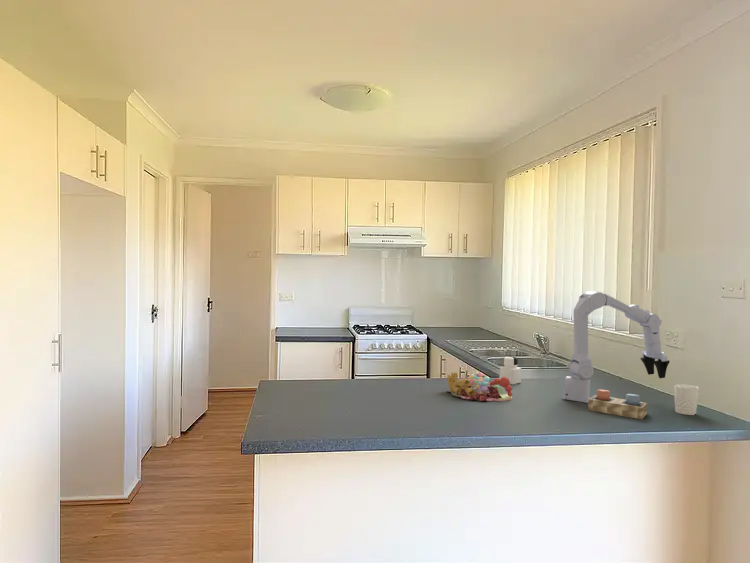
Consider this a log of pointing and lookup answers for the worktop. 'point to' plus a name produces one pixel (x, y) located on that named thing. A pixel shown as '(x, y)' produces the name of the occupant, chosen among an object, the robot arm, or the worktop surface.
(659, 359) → the robot arm
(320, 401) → the worktop surface
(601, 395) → the pink ball
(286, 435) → the worktop surface
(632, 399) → the blue peg
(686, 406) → the white cup
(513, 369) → the medicine bottle
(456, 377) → the assorted food platter
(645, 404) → the peg block
